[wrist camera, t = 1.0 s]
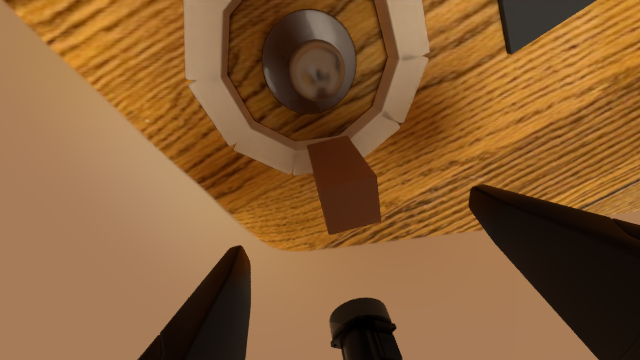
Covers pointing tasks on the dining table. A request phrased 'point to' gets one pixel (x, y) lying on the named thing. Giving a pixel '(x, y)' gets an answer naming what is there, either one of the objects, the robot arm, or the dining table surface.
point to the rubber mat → (534, 18)
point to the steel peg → (309, 61)
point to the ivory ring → (324, 153)
